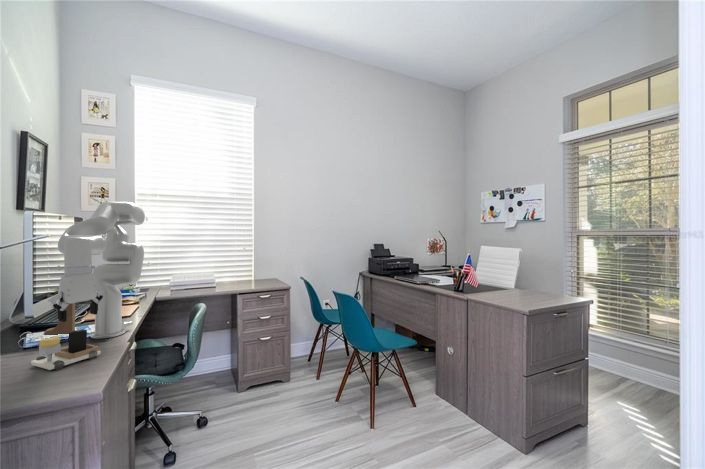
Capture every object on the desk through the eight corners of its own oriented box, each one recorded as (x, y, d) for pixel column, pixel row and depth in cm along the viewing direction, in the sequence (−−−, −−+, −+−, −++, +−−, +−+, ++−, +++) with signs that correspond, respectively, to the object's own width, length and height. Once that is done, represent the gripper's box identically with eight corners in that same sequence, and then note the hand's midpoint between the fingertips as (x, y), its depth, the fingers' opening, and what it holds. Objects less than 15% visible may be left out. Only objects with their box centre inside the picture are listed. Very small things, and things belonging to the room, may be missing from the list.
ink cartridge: (86, 350, 118) (87, 328, 118) (86, 352, 116) (87, 330, 116) (68, 353, 115) (69, 330, 115) (68, 355, 113) (68, 332, 113)
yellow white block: (54, 349, 111) (54, 336, 111) (63, 351, 109) (63, 337, 109) (36, 354, 107) (36, 340, 107) (44, 356, 105) (44, 342, 105)
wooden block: (43, 342, 132) (44, 299, 132) (47, 339, 136) (48, 297, 136) (71, 339, 136) (72, 297, 136) (75, 336, 140) (75, 295, 140)
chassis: (82, 352, 122) (82, 338, 122) (100, 356, 118) (100, 342, 118) (30, 367, 108) (31, 352, 108) (49, 372, 104) (50, 357, 104)
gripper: (98, 267, 125) (98, 310, 126) (42, 273, 109) (42, 322, 110) (110, 268, 122) (110, 312, 123) (55, 275, 106) (55, 326, 107)
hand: (78, 317), depth 116 cm, fingers open, 9 cm apart
